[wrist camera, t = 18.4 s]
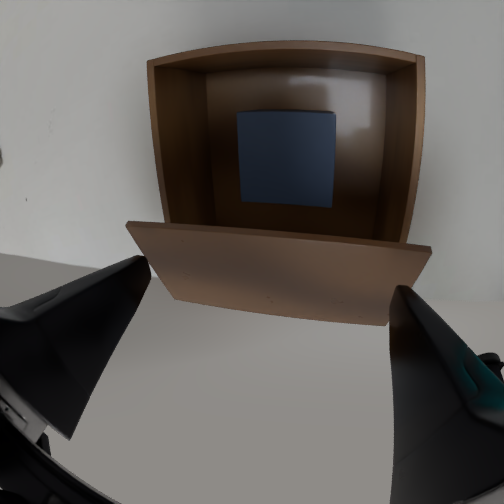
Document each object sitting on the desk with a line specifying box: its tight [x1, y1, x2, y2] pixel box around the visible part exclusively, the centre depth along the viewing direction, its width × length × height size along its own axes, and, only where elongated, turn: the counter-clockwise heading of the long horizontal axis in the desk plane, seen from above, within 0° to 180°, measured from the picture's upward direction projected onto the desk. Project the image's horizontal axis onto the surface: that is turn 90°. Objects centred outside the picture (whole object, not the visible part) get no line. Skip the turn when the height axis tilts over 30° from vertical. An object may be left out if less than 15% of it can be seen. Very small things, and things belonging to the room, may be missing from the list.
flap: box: [125, 221, 432, 326], centre depth 12 cm, size 6×12×1 cm, turn 92°
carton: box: [147, 41, 425, 243], centre depth 14 cm, size 13×12×6 cm
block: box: [237, 109, 336, 208], centre depth 14 cm, size 4×4×4 cm
